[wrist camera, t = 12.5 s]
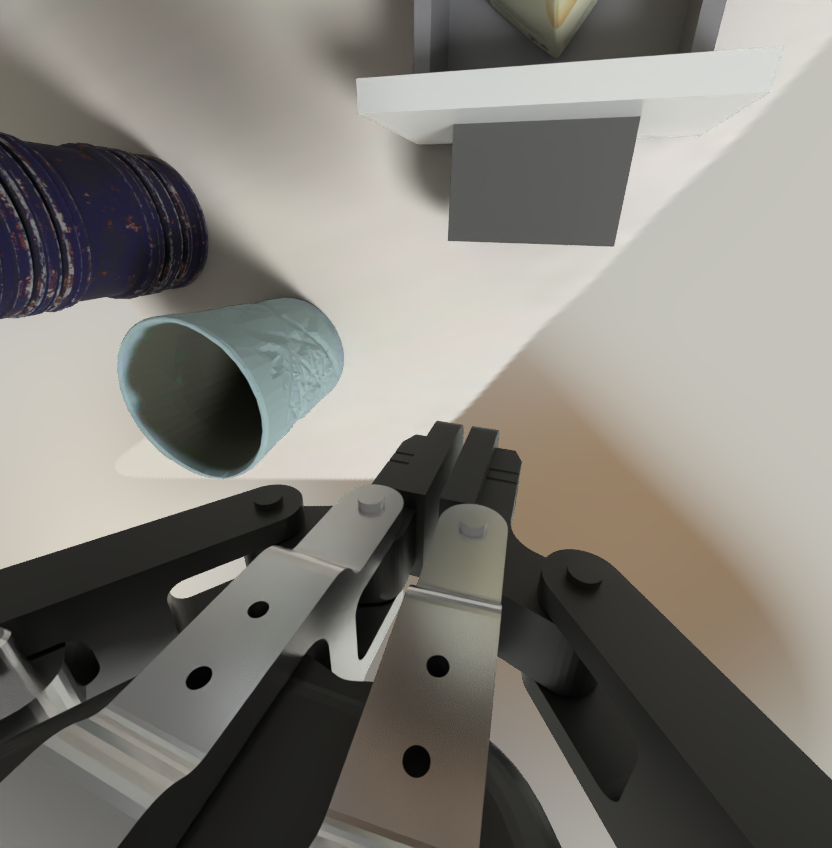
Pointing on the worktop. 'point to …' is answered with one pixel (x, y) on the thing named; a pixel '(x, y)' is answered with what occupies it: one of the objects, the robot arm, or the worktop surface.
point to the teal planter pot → (227, 380)
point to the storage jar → (92, 226)
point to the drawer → (559, 108)
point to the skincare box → (546, 20)
